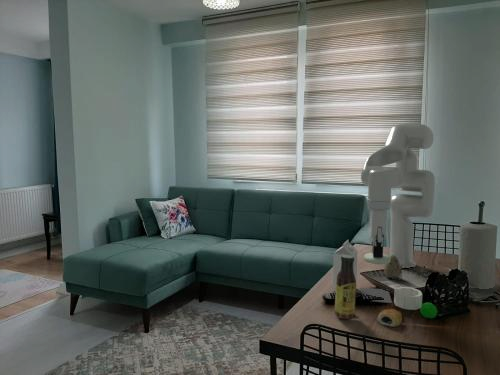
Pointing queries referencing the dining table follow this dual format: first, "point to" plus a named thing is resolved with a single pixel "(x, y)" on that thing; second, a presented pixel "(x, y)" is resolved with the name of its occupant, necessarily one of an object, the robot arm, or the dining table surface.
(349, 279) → the sauce bottle
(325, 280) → the dining table surface
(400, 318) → the pastry
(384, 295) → the mat
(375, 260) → the lid
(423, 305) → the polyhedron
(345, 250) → the milk carton
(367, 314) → the dining table surface
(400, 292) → the bowl
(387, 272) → the decorative egg
